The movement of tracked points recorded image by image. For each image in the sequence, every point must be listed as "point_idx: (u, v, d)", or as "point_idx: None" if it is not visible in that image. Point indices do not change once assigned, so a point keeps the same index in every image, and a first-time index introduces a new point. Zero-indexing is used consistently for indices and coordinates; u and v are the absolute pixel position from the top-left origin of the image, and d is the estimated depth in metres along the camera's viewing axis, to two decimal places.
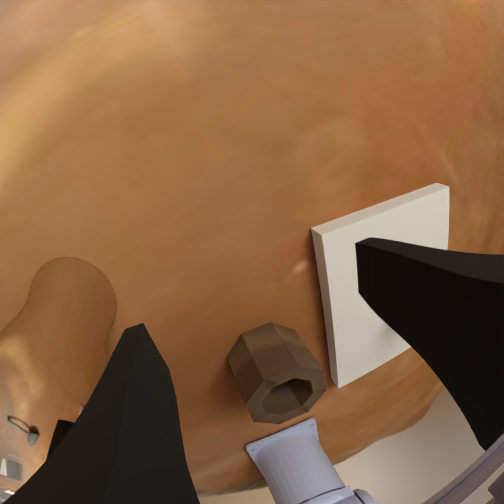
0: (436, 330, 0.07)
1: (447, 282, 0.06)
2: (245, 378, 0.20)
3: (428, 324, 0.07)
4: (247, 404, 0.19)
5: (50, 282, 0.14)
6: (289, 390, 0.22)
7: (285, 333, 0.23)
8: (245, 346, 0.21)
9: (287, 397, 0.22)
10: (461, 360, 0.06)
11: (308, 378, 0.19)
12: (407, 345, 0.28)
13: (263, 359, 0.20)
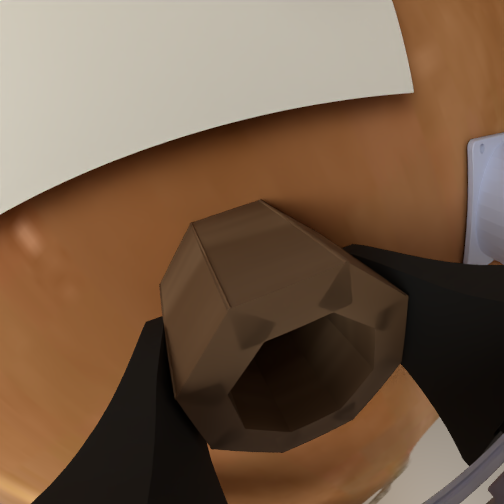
0: (418, 342, 0.07)
1: (428, 294, 0.06)
2: None
3: (410, 335, 0.07)
4: (284, 450, 0.08)
5: None
6: None
7: (174, 273, 0.09)
8: None
9: None
10: (443, 374, 0.06)
11: (248, 354, 0.06)
12: None
13: None
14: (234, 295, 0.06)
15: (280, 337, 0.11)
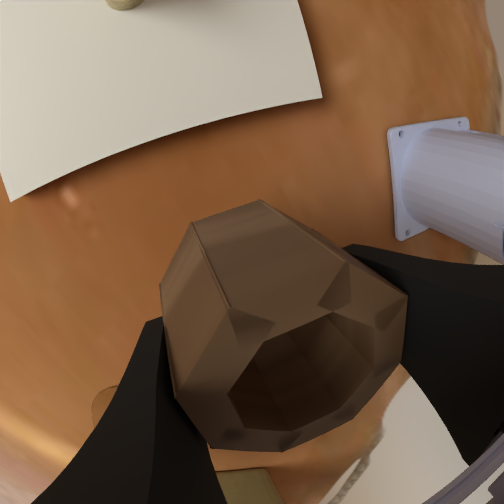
0: (418, 342, 0.07)
1: (428, 294, 0.06)
2: None
3: (410, 335, 0.07)
4: (283, 450, 0.08)
5: None
6: None
7: (174, 273, 0.09)
8: None
9: None
10: (443, 374, 0.06)
11: (247, 353, 0.06)
12: None
13: None
14: (233, 294, 0.06)
15: (280, 337, 0.11)
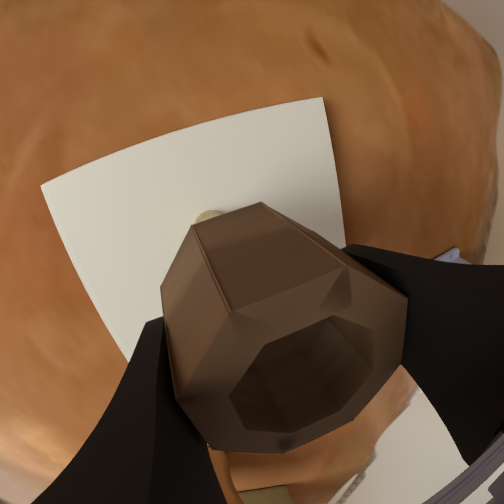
0: (418, 342, 0.07)
1: (428, 294, 0.06)
2: None
3: (410, 335, 0.07)
4: (284, 451, 0.08)
5: None
6: None
7: (174, 275, 0.09)
8: None
9: None
10: (443, 374, 0.06)
11: (248, 356, 0.06)
12: (328, 175, 0.18)
13: None
14: (235, 298, 0.06)
15: (280, 338, 0.11)
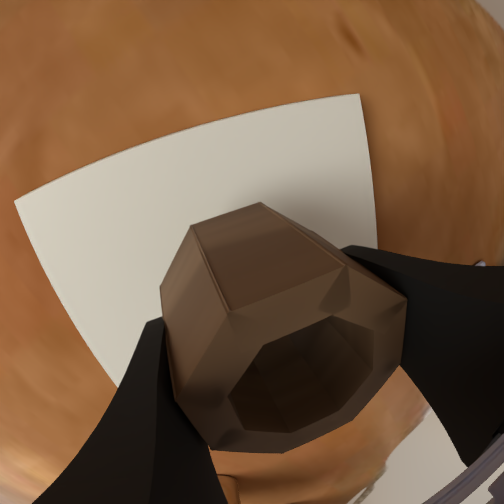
0: (416, 343, 0.07)
1: (426, 295, 0.06)
2: None
3: (408, 336, 0.07)
4: (283, 451, 0.08)
5: None
6: None
7: (173, 275, 0.09)
8: None
9: None
10: (441, 375, 0.06)
11: (247, 356, 0.06)
12: (363, 186, 0.15)
13: None
14: (233, 298, 0.06)
15: (279, 338, 0.11)
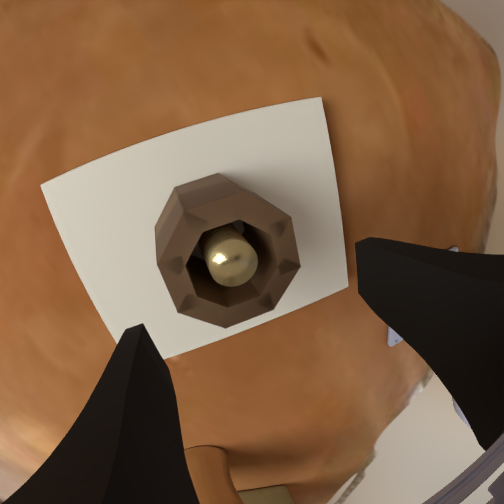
0: (436, 330, 0.07)
1: (447, 282, 0.06)
2: None
3: (427, 323, 0.07)
4: (226, 326, 0.14)
5: None
6: None
7: (163, 215, 0.15)
8: None
9: (262, 236, 0.14)
10: (461, 360, 0.06)
11: (194, 238, 0.12)
12: (326, 174, 0.18)
13: None
14: (187, 207, 0.12)
15: None
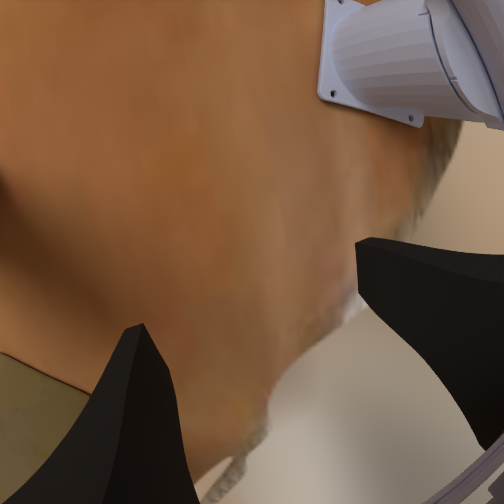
0: (436, 330, 0.07)
1: (447, 282, 0.06)
2: None
3: (428, 324, 0.07)
4: None
5: None
6: None
7: None
8: None
9: None
10: (461, 360, 0.06)
11: None
12: None
13: None
14: None
15: None
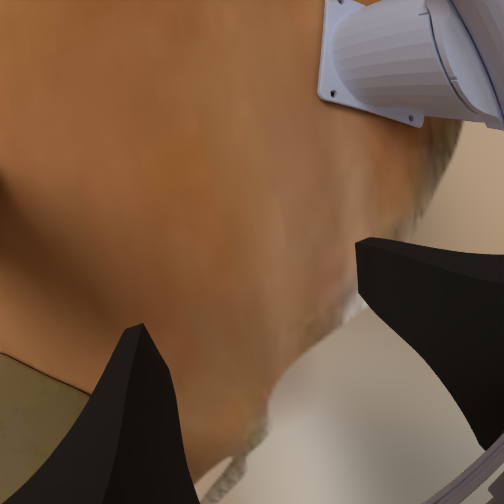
0: (436, 330, 0.07)
1: (447, 282, 0.06)
2: None
3: (428, 324, 0.07)
4: None
5: None
6: None
7: None
8: None
9: None
10: (461, 360, 0.06)
11: None
12: None
13: None
14: None
15: None
